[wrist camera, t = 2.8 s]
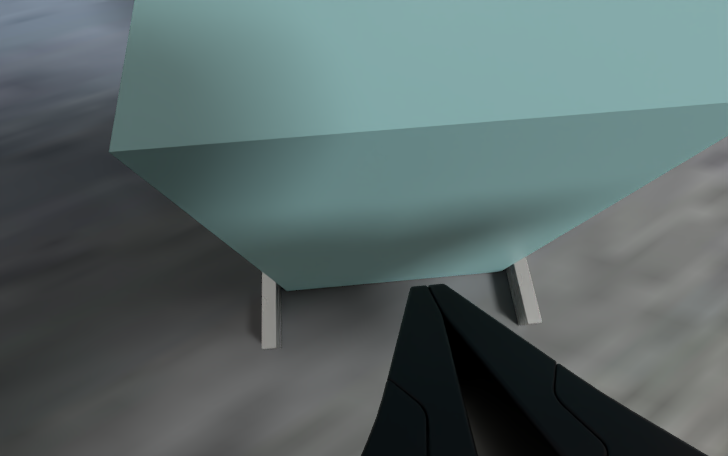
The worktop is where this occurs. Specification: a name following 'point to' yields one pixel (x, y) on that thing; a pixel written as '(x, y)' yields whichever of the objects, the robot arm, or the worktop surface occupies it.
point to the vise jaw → (412, 123)
